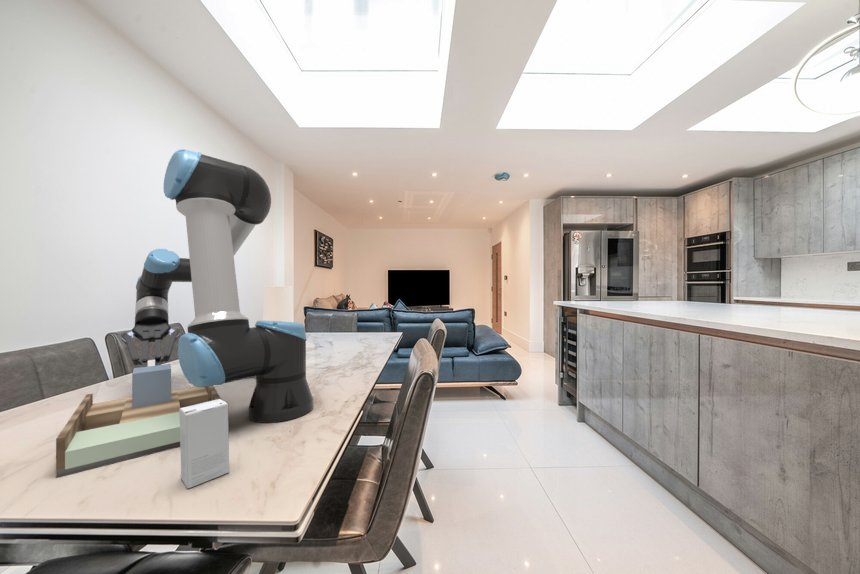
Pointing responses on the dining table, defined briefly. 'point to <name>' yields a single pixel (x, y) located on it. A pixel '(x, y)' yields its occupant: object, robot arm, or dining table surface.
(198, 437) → the skincare box
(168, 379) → the slate block
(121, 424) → the pad
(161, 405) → the box
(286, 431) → the dining table surface
